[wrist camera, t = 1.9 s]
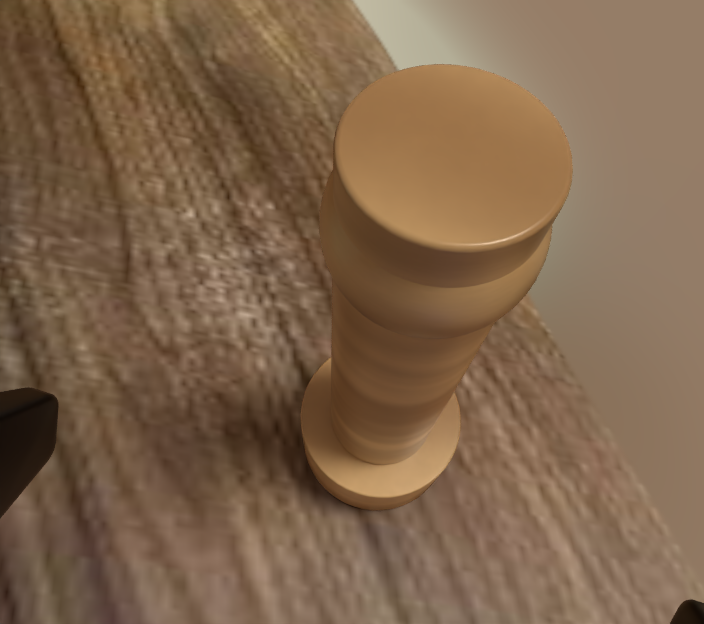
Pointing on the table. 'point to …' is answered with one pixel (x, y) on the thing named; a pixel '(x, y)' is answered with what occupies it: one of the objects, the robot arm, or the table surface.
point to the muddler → (423, 266)
